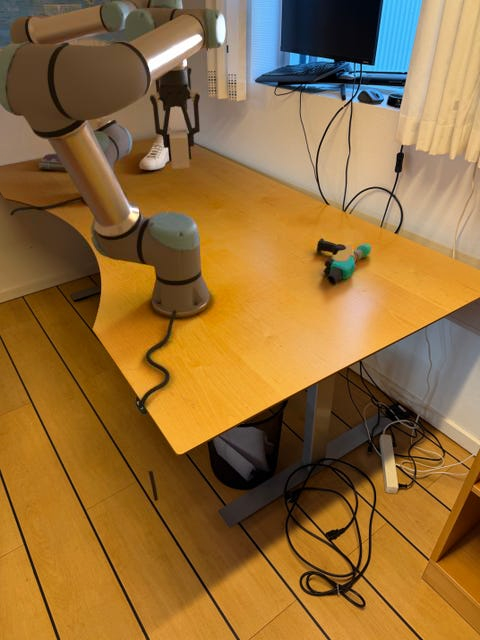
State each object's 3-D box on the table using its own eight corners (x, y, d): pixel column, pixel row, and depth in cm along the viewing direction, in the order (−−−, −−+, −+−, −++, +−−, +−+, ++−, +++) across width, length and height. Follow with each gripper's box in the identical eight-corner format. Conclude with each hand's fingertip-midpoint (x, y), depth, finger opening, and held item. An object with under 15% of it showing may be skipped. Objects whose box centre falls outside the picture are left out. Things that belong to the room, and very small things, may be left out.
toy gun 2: (295, 266, 131) (348, 279, 125) (326, 230, 149) (373, 240, 144) (294, 280, 133) (346, 293, 128) (325, 243, 152) (371, 253, 146)
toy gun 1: (87, 162, 220) (72, 173, 209) (51, 160, 224) (33, 171, 212) (86, 154, 218) (70, 164, 206) (49, 152, 221) (31, 162, 209)
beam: (189, 167, 132) (187, 137, 127) (172, 168, 131) (169, 138, 126) (182, 116, 180) (180, 93, 175) (169, 117, 180) (167, 93, 175)
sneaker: (133, 173, 208) (129, 144, 201) (161, 153, 230) (158, 127, 223) (155, 175, 205) (151, 146, 198) (180, 155, 227) (178, 129, 220)
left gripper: (196, 45, 164) (199, 116, 178) (143, 46, 162) (151, 118, 176) (197, 47, 158) (201, 121, 172) (143, 49, 156) (151, 123, 170)
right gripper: (205, 64, 127) (209, 153, 141) (138, 66, 126) (149, 156, 139) (207, 69, 121) (212, 160, 135) (137, 71, 119) (148, 164, 133)
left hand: (176, 119), depth 174 cm, fingers closed on beam, 5 cm apart
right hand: (180, 158), depth 137 cm, fingers closed on beam, 5 cm apart
